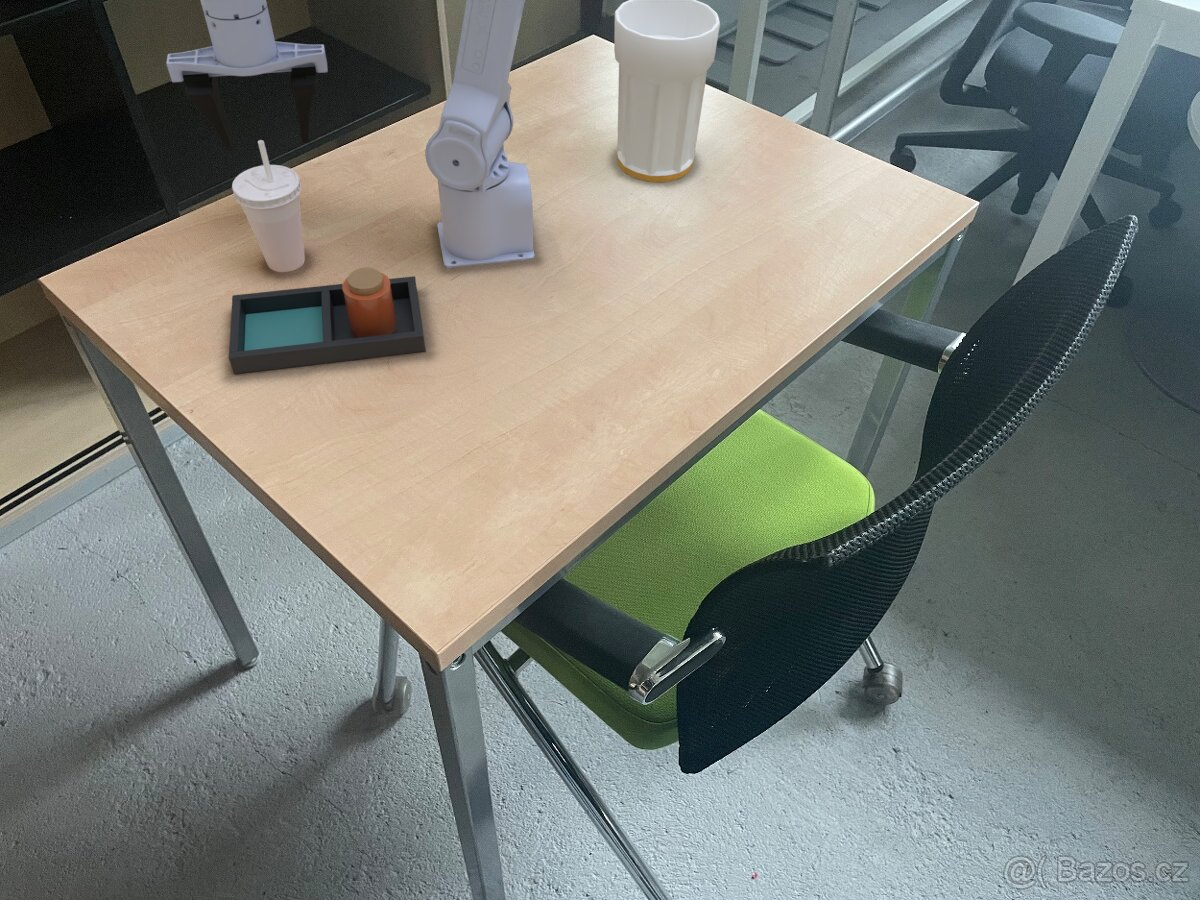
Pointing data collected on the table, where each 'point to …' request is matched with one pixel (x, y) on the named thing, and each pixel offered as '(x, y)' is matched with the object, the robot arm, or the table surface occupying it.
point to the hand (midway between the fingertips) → (267, 140)
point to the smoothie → (273, 212)
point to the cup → (661, 83)
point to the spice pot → (369, 303)
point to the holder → (315, 328)
